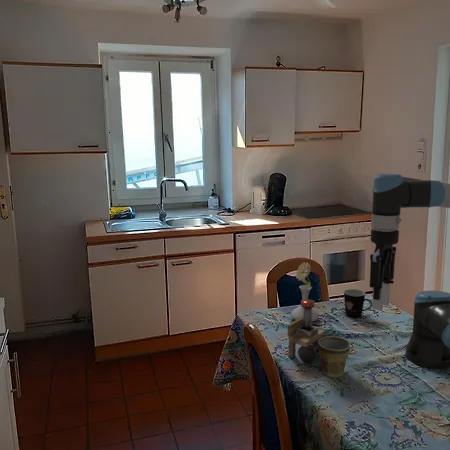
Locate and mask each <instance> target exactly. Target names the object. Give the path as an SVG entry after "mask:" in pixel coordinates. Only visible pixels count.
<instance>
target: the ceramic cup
mask: <svg viewBox="0 0 450 450" xmlns="http://www.w3.org/2000/svg"><path fill="white" fill-rule="evenodd" d="M350 348H351V342H350V341H348V340H347V339H346V338H343V337H340V336H337V335H333V336H331V335H329V336H328V335H327V336H326V337H322V338H320V339H319V340H318V349H319V353H318V354H319V359H320V366H321V371H322V374H324V375H325V376H327V377H331V378H339V377H343V375H344V372H345V368H346V364H347V360H348V356H349V352H350Z"/></svg>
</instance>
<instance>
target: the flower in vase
mask: <svg viewBox="0 0 450 450" xmlns="http://www.w3.org/2000/svg"><path fill="white" fill-rule="evenodd" d="M310 272H311V265H310V263H309V262H308V261H307V262H302V263H301V264H300V265H299V267H298V268H297V270H296V276H295V277H296V279H298V280H297V281H301V282H302V283H303V285H300V286H299V287H298V288H299V289H300V291H301V297H302V299H301V300H304V299H309V294H310V292H311V290H312V289H313V287H312V286H311V285H312V284H311V283H312V282H311V281H310V278H309V277H308V276H309V275H310ZM306 278H307V280H306ZM290 317H291V318H292V320H294V321H296V320H298V319H299V318H301V317H303V307H302V306H301V304H300V305H299V306H298V307H296V308H294V309H293V310H292V311H291V313H290ZM319 318H320V315H319V312H317V311H316V309H314V307H313V308H312V323H313V322H315V321H318V319H319Z"/></svg>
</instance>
